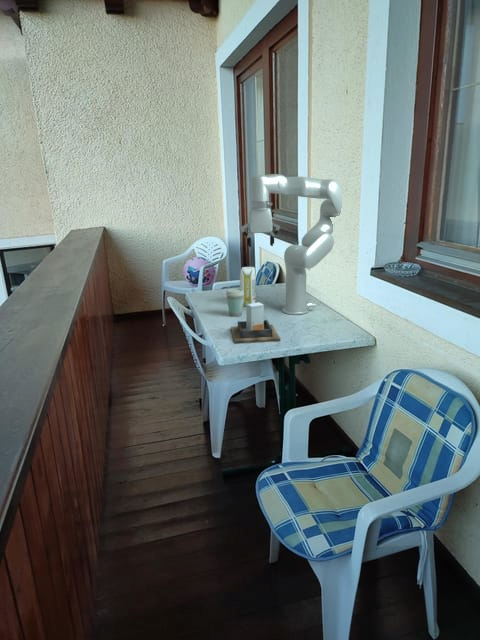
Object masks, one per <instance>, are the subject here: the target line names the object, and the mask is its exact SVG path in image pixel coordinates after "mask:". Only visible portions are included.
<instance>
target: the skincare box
mask: <svg viewBox="0 0 480 640" xmlns="http://www.w3.org/2000/svg"><path fill="white" fill-rule="evenodd" d="M245 308H246V310H245V311H246V312H245V313H246V317H245V318H246V320H245V321H246V328H247V330H262V329H264V320H265V319H264V318H265V317H264V315H265V313H264V312H265V310H264V309H265V305H264V304H263V303H261V302H260V301H259V302H258V301H257V302H255V303H251V304H246V307H245Z"/></svg>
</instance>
